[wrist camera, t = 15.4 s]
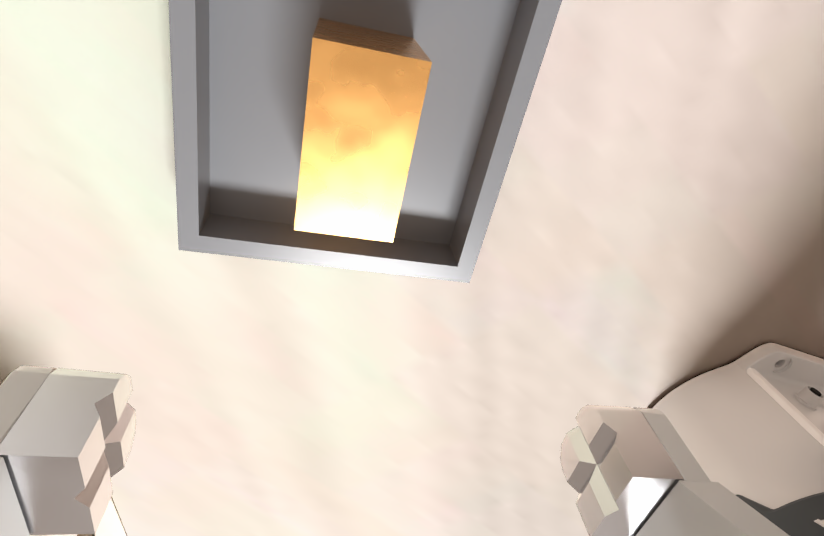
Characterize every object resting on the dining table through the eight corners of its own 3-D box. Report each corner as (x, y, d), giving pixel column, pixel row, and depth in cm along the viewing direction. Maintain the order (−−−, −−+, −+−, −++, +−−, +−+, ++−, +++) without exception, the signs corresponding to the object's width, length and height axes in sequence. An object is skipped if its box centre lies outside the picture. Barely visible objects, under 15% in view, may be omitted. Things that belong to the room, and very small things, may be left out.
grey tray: (543, -30, 24) (570, -27, 21) (457, 252, 32) (469, 282, 29) (188, -123, 20) (163, -135, 17) (195, 218, 29) (178, 249, 26)
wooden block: (413, 38, 24) (431, 62, 19) (384, 189, 28) (393, 242, 23) (319, 17, 23) (312, 37, 18) (303, 177, 27) (293, 230, 22)
